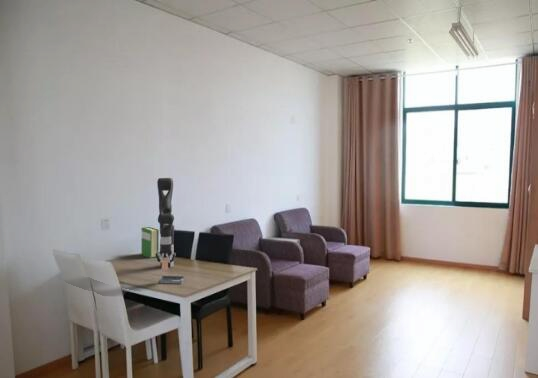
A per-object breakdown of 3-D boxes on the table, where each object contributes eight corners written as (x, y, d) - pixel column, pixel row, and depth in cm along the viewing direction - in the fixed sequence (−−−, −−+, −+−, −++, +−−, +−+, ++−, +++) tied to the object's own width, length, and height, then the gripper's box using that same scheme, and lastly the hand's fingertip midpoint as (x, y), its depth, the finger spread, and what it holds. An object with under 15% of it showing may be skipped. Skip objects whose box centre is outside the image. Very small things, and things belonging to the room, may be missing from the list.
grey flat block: (162, 279, 273) (162, 275, 273) (184, 280, 273) (184, 276, 273) (159, 283, 265) (159, 279, 265) (181, 283, 265) (181, 279, 265)
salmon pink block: (163, 268, 271) (163, 258, 270) (169, 268, 271) (169, 258, 270) (161, 269, 267) (161, 259, 266) (167, 269, 267) (167, 259, 266)
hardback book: (158, 257, 340) (158, 229, 338) (150, 258, 335) (150, 230, 334) (149, 253, 353) (149, 226, 352) (141, 254, 348) (141, 227, 347)
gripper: (177, 242, 272) (177, 266, 272) (156, 241, 271) (156, 266, 272) (174, 244, 264) (174, 269, 265) (153, 243, 264) (153, 269, 265)
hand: (165, 267), depth 269 cm, fingers closed on salmon pink block, 4 cm apart
